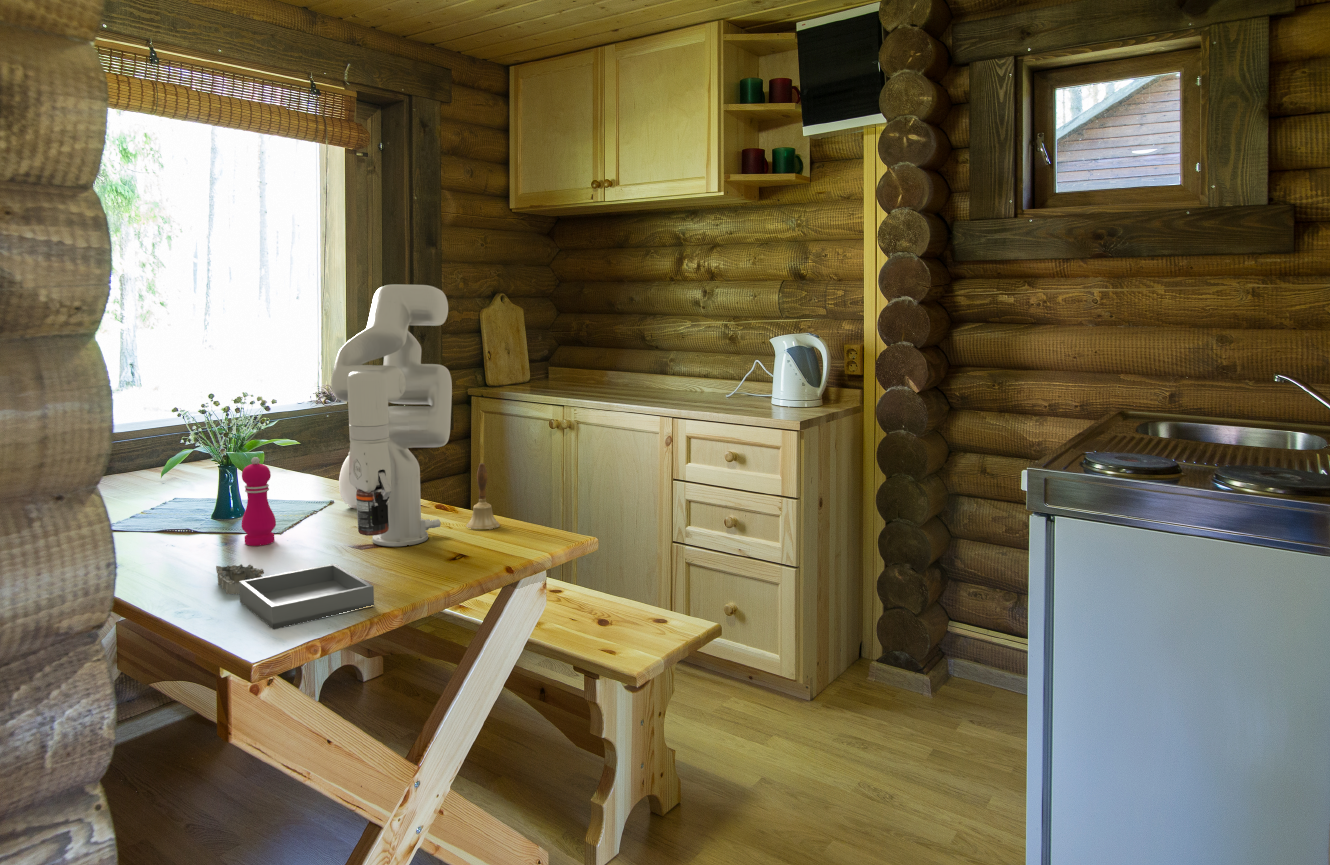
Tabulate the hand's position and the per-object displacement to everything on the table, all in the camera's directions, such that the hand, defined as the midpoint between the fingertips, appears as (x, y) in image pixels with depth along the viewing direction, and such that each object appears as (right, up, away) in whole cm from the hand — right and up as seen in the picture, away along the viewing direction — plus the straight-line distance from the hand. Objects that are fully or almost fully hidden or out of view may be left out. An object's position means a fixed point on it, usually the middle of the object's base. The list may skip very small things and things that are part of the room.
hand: (373, 519), depth 180 cm
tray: (-7, -14, -15) cm, 22 cm away
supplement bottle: (0, -3, +1) cm, 3 cm away
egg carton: (-25, -13, -5) cm, 28 cm away
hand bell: (+13, -6, +44) cm, 46 cm away
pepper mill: (-35, -8, +26) cm, 44 cm away
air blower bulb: (-25, -3, +61) cm, 66 cm away
